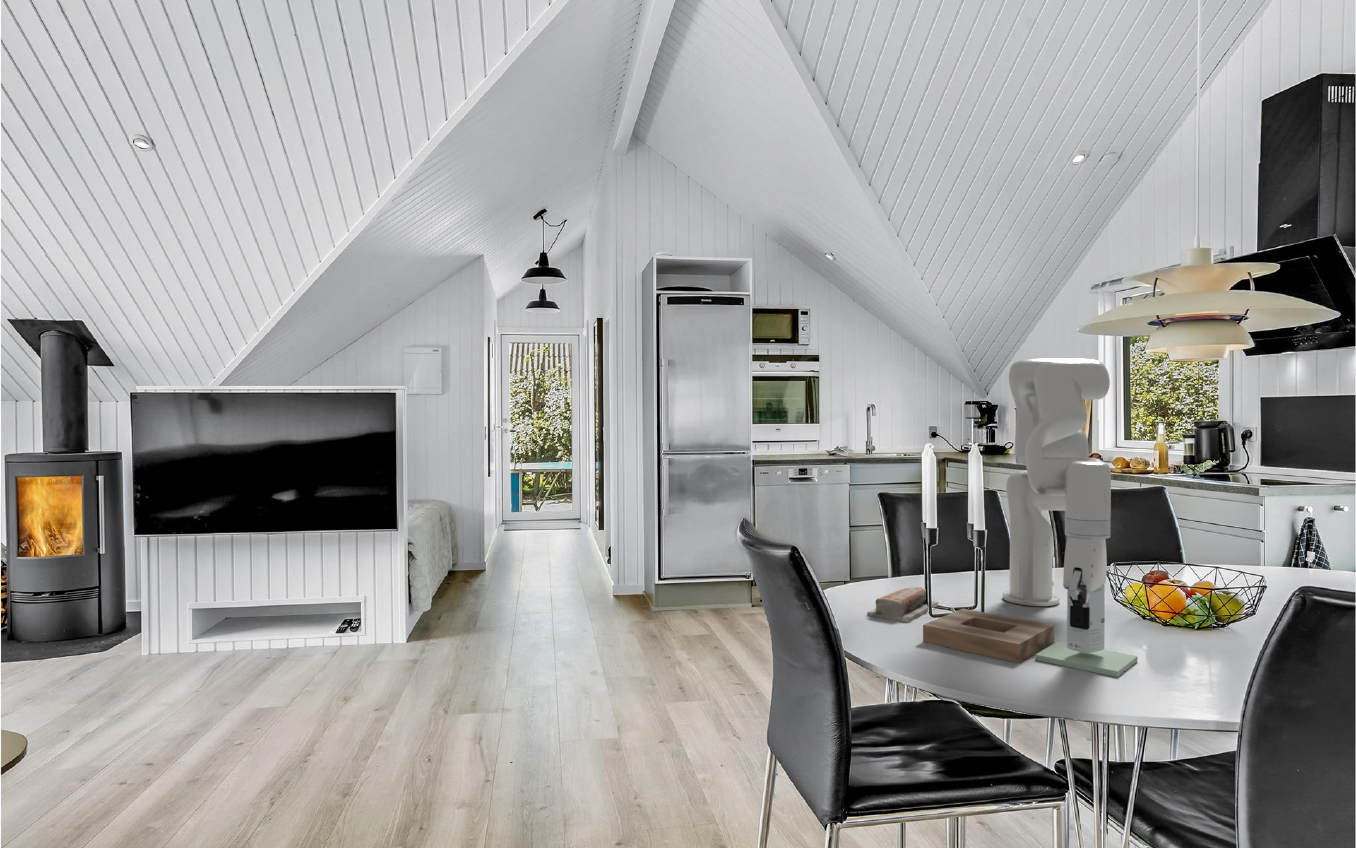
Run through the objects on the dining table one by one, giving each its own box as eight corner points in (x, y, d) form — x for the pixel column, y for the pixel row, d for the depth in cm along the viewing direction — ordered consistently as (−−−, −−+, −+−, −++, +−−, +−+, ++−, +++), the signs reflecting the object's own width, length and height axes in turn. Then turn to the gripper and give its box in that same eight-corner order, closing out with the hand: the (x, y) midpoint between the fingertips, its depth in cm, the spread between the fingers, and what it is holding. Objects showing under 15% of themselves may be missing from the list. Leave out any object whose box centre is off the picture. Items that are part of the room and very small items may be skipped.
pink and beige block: (909, 603, 177) (866, 596, 183) (909, 625, 177) (866, 617, 183) (939, 588, 191) (898, 582, 197) (939, 608, 191) (898, 602, 197)
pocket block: (962, 624, 175) (962, 608, 175) (1054, 642, 162) (1054, 625, 162) (922, 642, 162) (923, 624, 162) (1018, 663, 149) (1019, 644, 149)
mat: (1058, 646, 159) (1058, 641, 159) (1137, 661, 150) (1137, 656, 150) (1035, 659, 151) (1035, 654, 151) (1117, 677, 141) (1117, 671, 141)
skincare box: (1089, 654, 147) (1090, 588, 147) (1064, 648, 150) (1066, 583, 150) (1105, 649, 150) (1107, 584, 150) (1081, 644, 154) (1083, 580, 154)
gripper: (1081, 520, 159) (1080, 611, 159) (1049, 531, 146) (1048, 629, 147) (1123, 524, 153) (1122, 618, 154) (1094, 536, 141) (1092, 638, 142)
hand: (1086, 623), depth 150 cm, fingers closed on skincare box, 6 cm apart
